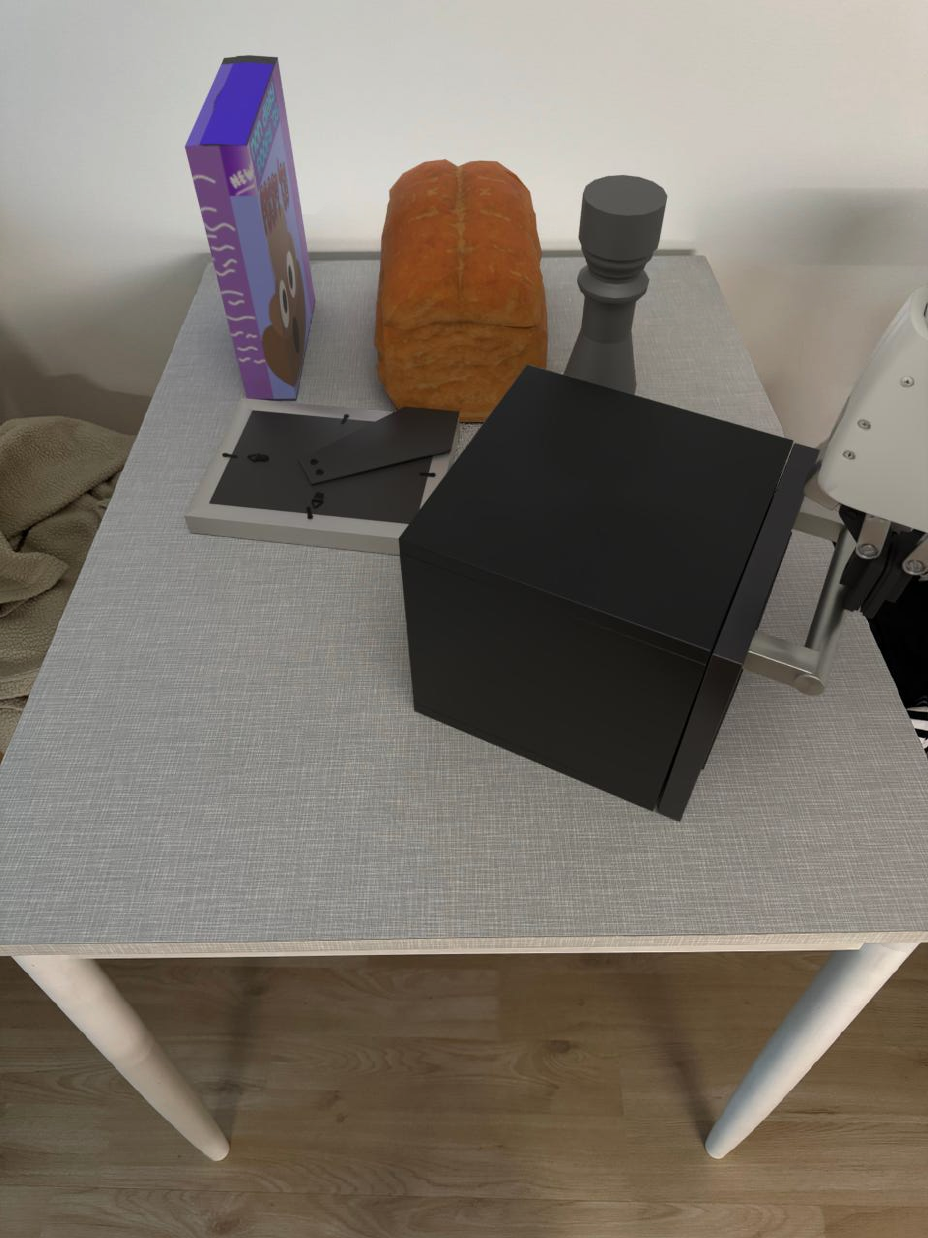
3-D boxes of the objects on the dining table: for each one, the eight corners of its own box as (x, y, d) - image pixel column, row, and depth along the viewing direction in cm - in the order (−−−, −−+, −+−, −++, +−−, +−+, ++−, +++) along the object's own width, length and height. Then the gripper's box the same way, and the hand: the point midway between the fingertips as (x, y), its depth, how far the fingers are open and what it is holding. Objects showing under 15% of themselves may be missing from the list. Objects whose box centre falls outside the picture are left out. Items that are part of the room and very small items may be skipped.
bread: (377, 426, 83) (360, 270, 70) (388, 274, 99) (376, 126, 87) (547, 424, 83) (561, 267, 70) (530, 272, 99) (538, 123, 87)
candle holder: (603, 444, 81) (646, 167, 61) (632, 487, 77) (687, 208, 58) (541, 458, 80) (564, 180, 60) (567, 503, 76) (601, 223, 57)
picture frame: (459, 435, 82) (245, 415, 84) (459, 411, 80) (239, 391, 82) (431, 558, 72) (190, 532, 74) (429, 535, 70) (181, 508, 72)
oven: (727, 620, 68) (794, 439, 54) (652, 811, 58) (711, 651, 44) (515, 546, 73) (526, 363, 59) (413, 711, 63) (397, 538, 49)
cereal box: (296, 400, 85) (246, 142, 66) (247, 400, 85) (184, 143, 66) (315, 300, 96) (277, 54, 77) (271, 300, 96) (223, 54, 77)
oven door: (807, 646, 66) (893, 469, 52) (744, 849, 56) (830, 696, 42) (730, 620, 68) (794, 442, 54) (656, 812, 58) (711, 653, 44)
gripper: (1250, 305, 34) (1009, 596, 49) (865, 213, 38) (747, 509, 53) (1262, 417, 30) (995, 698, 45) (829, 301, 34) (713, 596, 49)
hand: (862, 595), depth 49 cm, fingers closed
